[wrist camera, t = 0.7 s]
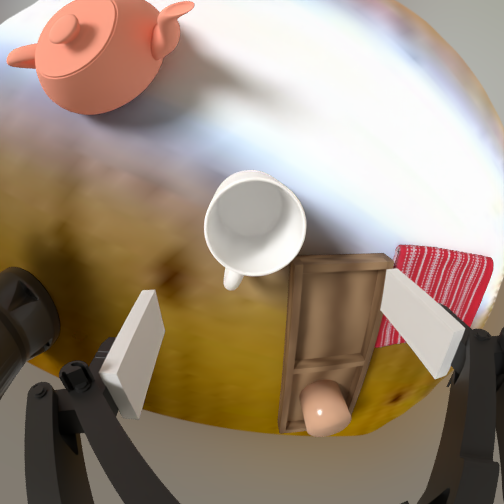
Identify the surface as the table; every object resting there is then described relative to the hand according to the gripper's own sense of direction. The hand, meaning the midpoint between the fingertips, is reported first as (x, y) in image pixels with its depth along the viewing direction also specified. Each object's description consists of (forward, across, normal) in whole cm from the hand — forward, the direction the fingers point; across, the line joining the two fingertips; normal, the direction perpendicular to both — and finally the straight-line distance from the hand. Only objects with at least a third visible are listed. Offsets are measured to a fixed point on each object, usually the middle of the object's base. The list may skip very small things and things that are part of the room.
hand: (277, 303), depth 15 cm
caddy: (+19, +10, -22) cm, 30 cm away
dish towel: (+19, +30, -14) cm, 38 cm away
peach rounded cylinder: (+18, +9, -30) cm, 36 cm away
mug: (+19, -1, 0) cm, 19 cm away
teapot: (+19, -15, +22) cm, 33 cm away
